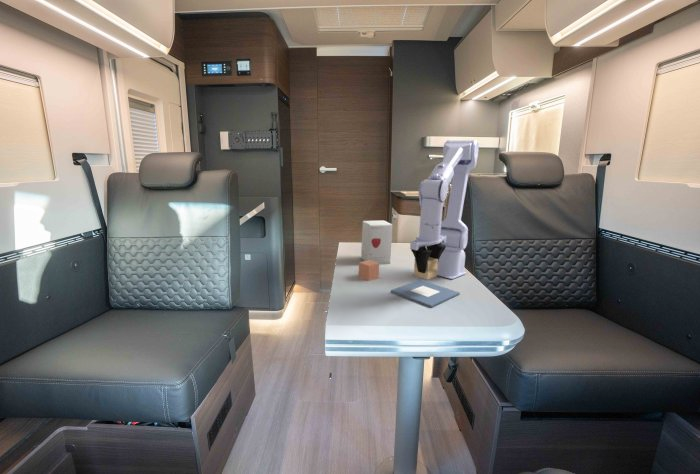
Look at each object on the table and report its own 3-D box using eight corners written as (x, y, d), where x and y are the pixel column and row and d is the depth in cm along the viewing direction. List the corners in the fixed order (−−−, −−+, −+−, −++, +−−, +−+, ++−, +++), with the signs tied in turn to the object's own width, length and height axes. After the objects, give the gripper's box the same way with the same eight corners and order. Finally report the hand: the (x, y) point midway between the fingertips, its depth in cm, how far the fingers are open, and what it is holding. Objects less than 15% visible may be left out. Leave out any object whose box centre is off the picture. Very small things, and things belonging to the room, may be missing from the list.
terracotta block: (368, 274, 113) (369, 259, 112) (378, 277, 110) (379, 263, 109) (358, 277, 110) (359, 262, 109) (368, 281, 107) (369, 265, 106)
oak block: (423, 272, 100) (424, 255, 99) (436, 276, 97) (437, 259, 95) (413, 275, 97) (414, 258, 96) (427, 279, 93) (428, 262, 92)
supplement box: (367, 265, 122) (369, 224, 119) (360, 258, 131) (361, 220, 127) (391, 263, 125) (393, 224, 121) (382, 257, 133) (384, 219, 130)
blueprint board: (419, 281, 107) (419, 279, 107) (459, 294, 97) (459, 292, 97) (390, 292, 98) (391, 289, 98) (431, 307, 88) (431, 305, 88)
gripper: (433, 218, 101) (429, 262, 104) (402, 224, 91) (399, 271, 94) (454, 222, 96) (450, 267, 99) (424, 228, 86) (420, 278, 89)
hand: (426, 270), depth 96 cm, fingers closed on oak block, 5 cm apart
